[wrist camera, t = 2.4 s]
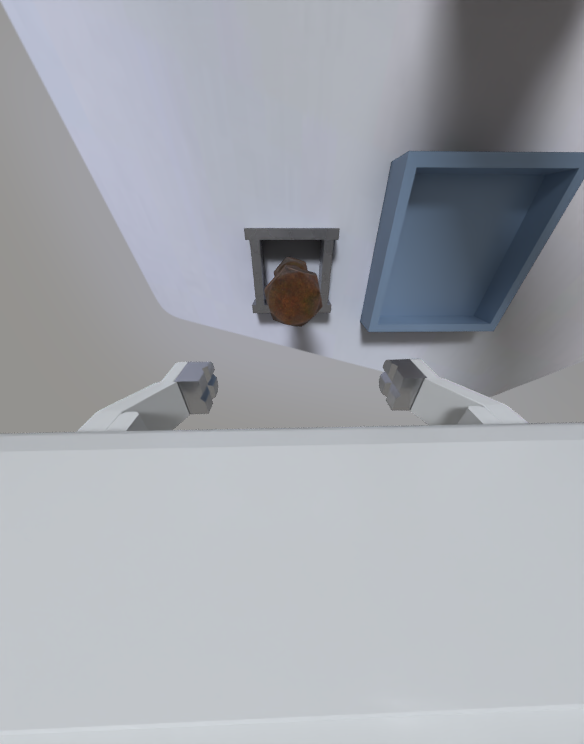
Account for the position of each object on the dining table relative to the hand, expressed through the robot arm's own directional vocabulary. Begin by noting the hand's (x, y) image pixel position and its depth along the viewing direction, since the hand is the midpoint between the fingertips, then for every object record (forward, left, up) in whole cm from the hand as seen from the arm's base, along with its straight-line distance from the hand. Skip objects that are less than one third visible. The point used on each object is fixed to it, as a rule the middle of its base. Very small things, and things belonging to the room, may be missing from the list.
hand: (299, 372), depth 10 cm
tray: (-22, -2, -27) cm, 35 cm away
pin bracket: (0, 0, -27) cm, 27 cm away
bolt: (0, 0, -27) cm, 27 cm away
